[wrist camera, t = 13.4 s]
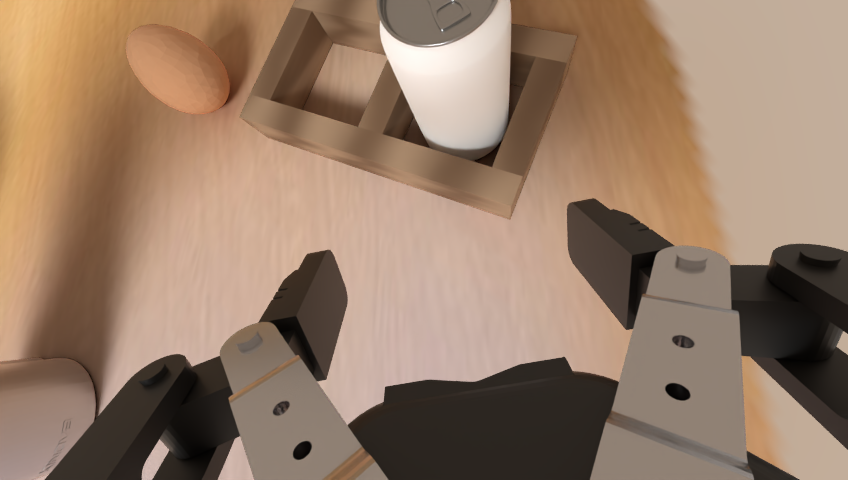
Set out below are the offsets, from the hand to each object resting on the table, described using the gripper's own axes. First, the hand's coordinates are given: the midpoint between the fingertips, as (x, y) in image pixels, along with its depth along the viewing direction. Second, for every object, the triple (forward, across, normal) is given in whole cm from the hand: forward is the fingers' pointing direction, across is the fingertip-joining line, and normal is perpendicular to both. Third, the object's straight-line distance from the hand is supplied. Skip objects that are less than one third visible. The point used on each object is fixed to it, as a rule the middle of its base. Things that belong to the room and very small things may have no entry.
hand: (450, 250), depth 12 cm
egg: (+25, +18, -6) cm, 32 cm away
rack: (+20, +1, -3) cm, 20 cm away
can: (+18, -3, -1) cm, 18 cm away
